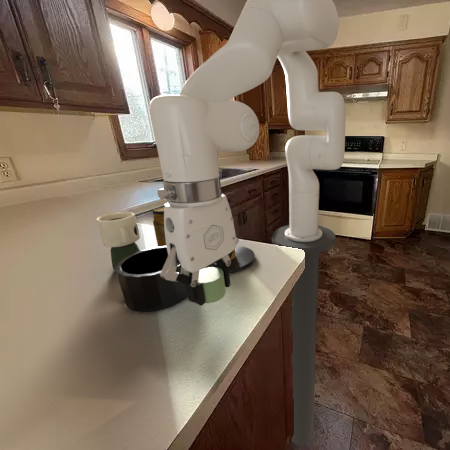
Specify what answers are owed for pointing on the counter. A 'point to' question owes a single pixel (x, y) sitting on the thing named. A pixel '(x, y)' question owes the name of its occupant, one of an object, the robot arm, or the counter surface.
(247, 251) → the tin lid
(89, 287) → the counter surface
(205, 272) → the wax puck
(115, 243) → the character mug
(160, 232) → the condiment
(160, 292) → the tin
